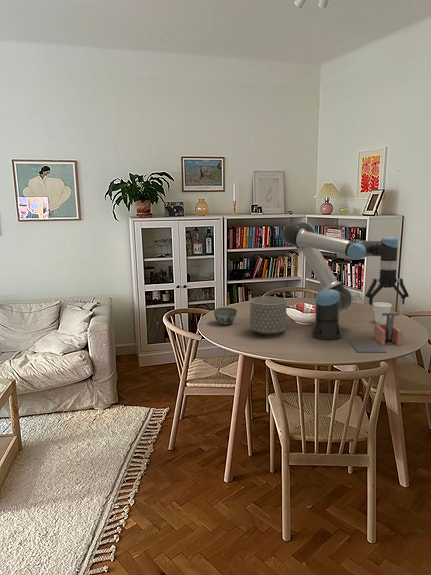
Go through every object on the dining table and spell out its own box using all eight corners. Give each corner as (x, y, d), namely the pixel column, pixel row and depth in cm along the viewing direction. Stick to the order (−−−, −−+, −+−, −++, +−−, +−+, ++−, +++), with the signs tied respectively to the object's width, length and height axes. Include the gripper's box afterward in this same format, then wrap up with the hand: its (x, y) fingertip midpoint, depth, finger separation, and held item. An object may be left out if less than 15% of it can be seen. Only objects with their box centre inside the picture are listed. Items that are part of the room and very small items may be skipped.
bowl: (211, 326, 240) (210, 312, 238) (216, 320, 252) (216, 307, 251) (234, 327, 236) (234, 313, 235) (238, 321, 249) (238, 308, 248)
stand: (382, 344, 204) (383, 314, 201) (379, 341, 208) (381, 312, 205) (398, 344, 203) (400, 314, 200) (395, 341, 207) (397, 312, 204)
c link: (381, 345, 202) (382, 331, 201) (373, 336, 215) (374, 323, 214) (400, 345, 202) (401, 331, 200) (391, 337, 214) (392, 323, 213)
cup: (392, 325, 233) (393, 306, 231) (373, 325, 235) (374, 306, 233) (388, 321, 243) (390, 302, 241) (370, 320, 245) (371, 302, 243)
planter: (287, 329, 231) (288, 297, 228) (283, 339, 213) (284, 305, 210) (253, 327, 236) (253, 295, 233) (247, 337, 218) (247, 303, 215)
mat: (357, 352, 193) (357, 351, 193) (350, 343, 206) (350, 342, 206) (386, 352, 192) (386, 351, 192) (377, 343, 205) (377, 342, 205)
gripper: (364, 270, 203) (362, 312, 207) (417, 269, 201) (414, 312, 205) (360, 268, 210) (358, 309, 214) (411, 267, 208) (409, 308, 212)
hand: (386, 311), depth 210 cm, fingers open, 13 cm apart
